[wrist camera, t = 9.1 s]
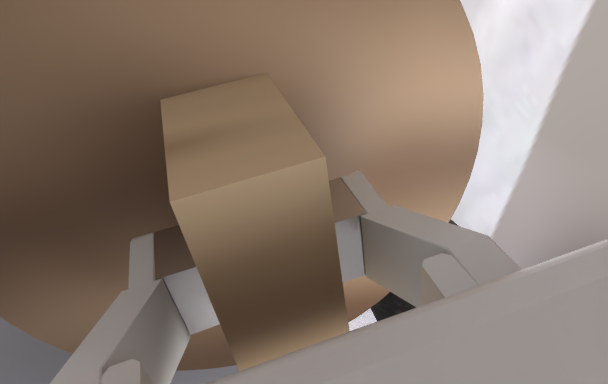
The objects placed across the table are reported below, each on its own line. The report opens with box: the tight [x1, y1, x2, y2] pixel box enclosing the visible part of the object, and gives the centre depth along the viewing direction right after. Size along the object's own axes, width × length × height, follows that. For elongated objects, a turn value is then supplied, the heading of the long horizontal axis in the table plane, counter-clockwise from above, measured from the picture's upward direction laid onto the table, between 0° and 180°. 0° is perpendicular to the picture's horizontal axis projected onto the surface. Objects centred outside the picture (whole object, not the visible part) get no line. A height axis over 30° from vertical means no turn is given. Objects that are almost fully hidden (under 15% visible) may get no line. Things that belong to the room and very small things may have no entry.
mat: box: [0, 317, 239, 384], centre depth 25 cm, size 16×16×1 cm
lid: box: [0, 0, 483, 371], centre depth 10 cm, size 14×14×5 cm
